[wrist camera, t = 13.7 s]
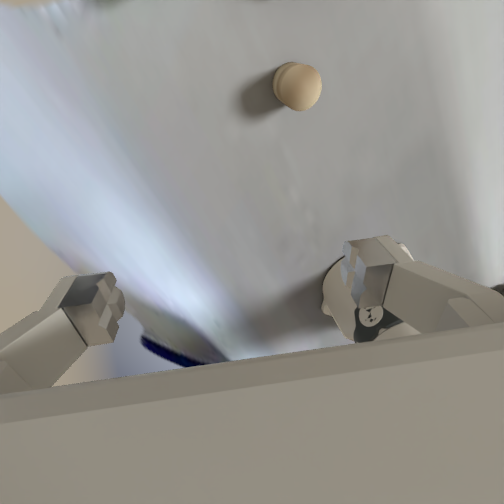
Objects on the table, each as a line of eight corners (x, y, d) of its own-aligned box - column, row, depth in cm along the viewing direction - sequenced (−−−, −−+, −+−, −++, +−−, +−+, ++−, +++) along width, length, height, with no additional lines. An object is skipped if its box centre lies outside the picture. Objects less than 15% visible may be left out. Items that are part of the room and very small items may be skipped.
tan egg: (314, 80, 33) (329, 85, 28) (290, 110, 34) (301, 119, 30) (289, 53, 31) (302, 54, 27) (265, 86, 32) (273, 92, 28)
